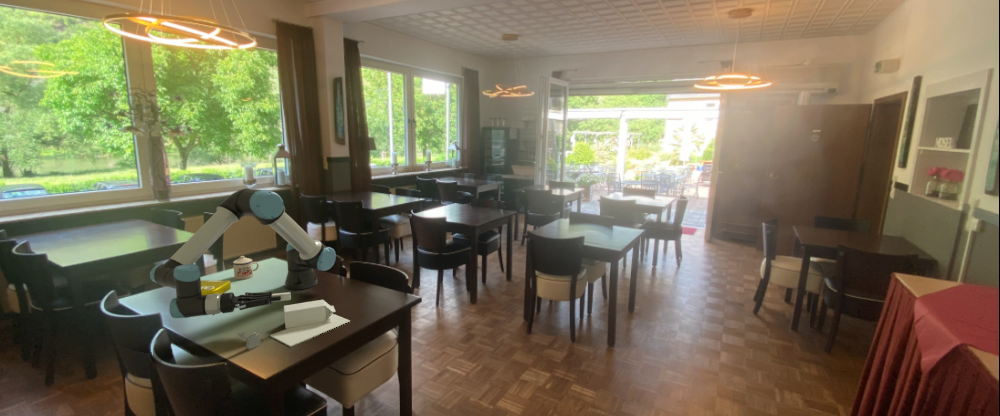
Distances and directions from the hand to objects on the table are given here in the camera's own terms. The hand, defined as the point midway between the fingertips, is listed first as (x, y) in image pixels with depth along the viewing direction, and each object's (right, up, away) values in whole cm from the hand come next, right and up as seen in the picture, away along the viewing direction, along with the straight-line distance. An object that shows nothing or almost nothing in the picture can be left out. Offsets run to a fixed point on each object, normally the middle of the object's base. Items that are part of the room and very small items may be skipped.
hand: (290, 295), depth 166 cm
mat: (+6, -13, +2) cm, 14 cm away
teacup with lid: (-54, -2, +59) cm, 80 cm away
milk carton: (-3, -9, +1) cm, 9 cm away
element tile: (-58, -7, +35) cm, 68 cm away
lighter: (-7, -16, -16) cm, 23 cm away
